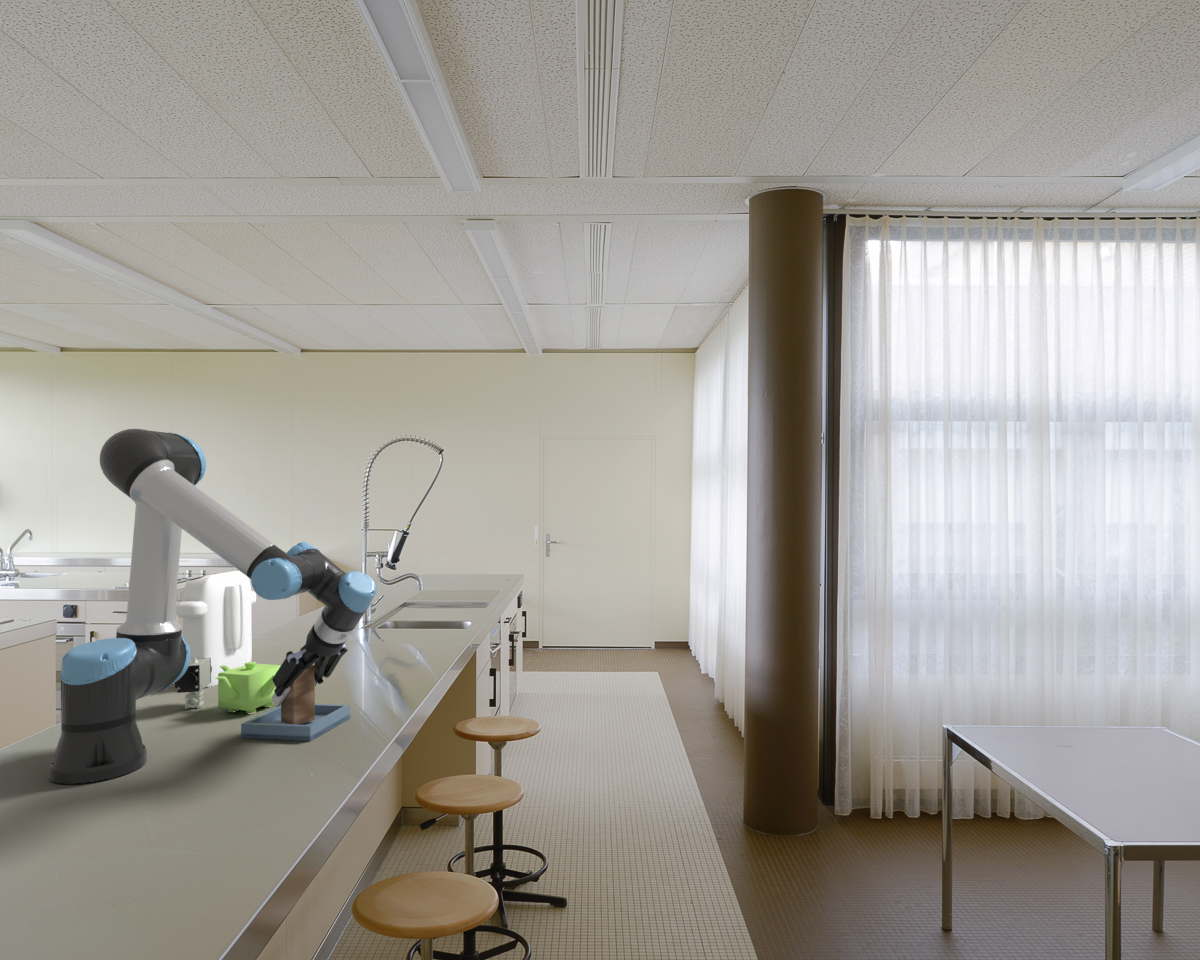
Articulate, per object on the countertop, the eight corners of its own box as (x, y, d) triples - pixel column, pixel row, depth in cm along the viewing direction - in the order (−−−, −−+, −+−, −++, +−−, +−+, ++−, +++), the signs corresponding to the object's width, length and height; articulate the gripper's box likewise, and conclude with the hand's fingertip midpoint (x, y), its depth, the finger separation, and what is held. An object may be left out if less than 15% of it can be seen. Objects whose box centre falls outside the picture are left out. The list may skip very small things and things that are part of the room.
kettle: (215, 721, 168) (215, 672, 168) (215, 707, 180) (214, 660, 180) (286, 711, 175) (286, 664, 175) (281, 698, 187) (281, 653, 187)
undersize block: (293, 725, 158) (293, 658, 159) (281, 722, 161) (280, 655, 162) (314, 720, 162) (314, 653, 163) (302, 716, 165) (301, 651, 166)
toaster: (208, 692, 193) (207, 578, 194) (170, 691, 195) (169, 578, 196) (270, 668, 220) (269, 568, 221) (236, 668, 222) (235, 568, 223)
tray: (310, 741, 152) (310, 726, 152) (241, 738, 155) (241, 723, 155) (350, 718, 168) (350, 705, 168) (286, 715, 171) (286, 702, 171)
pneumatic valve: (212, 699, 186) (212, 652, 187) (197, 712, 175) (196, 662, 175) (189, 701, 185) (188, 653, 186) (171, 714, 174) (171, 663, 174)
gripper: (297, 653, 146) (254, 723, 155) (375, 638, 160) (332, 702, 170) (282, 624, 149) (241, 694, 158) (360, 612, 164) (318, 676, 173)
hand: (288, 698), depth 164 cm, fingers open, 5 cm apart
